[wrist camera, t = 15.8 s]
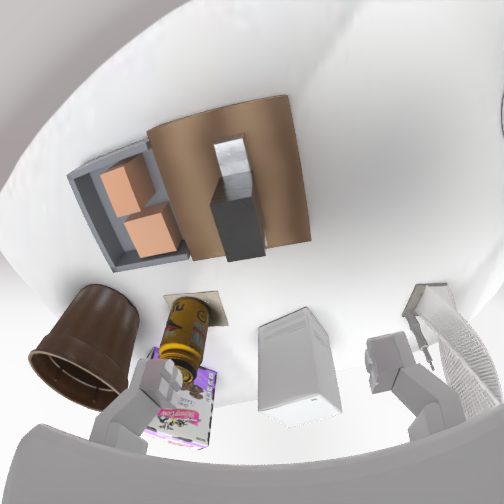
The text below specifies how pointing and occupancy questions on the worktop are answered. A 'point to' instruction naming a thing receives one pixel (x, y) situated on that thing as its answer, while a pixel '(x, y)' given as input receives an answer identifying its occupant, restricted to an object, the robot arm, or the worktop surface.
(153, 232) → the tile
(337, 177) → the worktop surface
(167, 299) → the condiment
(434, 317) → the skyscraper
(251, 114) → the board
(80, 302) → the plant pot
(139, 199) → the tile
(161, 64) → the worktop surface
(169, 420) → the candy box
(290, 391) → the supplement box
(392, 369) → the robot arm
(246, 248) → the scraper
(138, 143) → the tray
